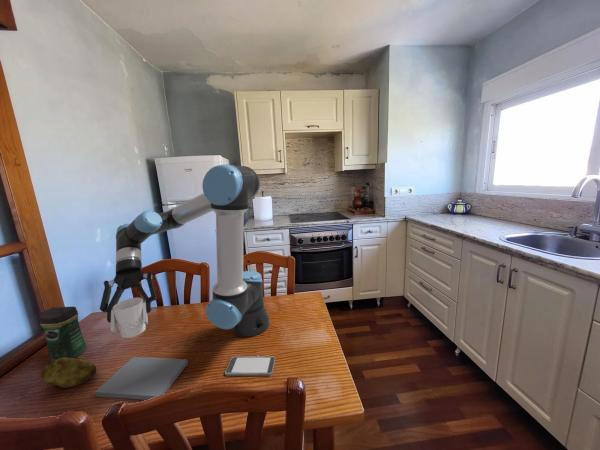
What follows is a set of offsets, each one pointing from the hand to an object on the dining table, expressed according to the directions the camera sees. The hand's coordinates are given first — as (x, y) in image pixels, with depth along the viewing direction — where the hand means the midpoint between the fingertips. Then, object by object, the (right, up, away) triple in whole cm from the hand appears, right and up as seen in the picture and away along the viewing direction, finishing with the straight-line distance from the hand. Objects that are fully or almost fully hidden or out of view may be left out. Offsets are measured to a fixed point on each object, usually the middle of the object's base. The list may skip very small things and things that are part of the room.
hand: (130, 327), depth 75 cm
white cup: (-1, -3, +4) cm, 5 cm away
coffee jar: (-31, -16, +13) cm, 38 cm away
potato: (-19, -18, +1) cm, 26 cm away
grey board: (+4, -16, +1) cm, 17 cm away
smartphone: (+37, -15, +4) cm, 40 cm away
